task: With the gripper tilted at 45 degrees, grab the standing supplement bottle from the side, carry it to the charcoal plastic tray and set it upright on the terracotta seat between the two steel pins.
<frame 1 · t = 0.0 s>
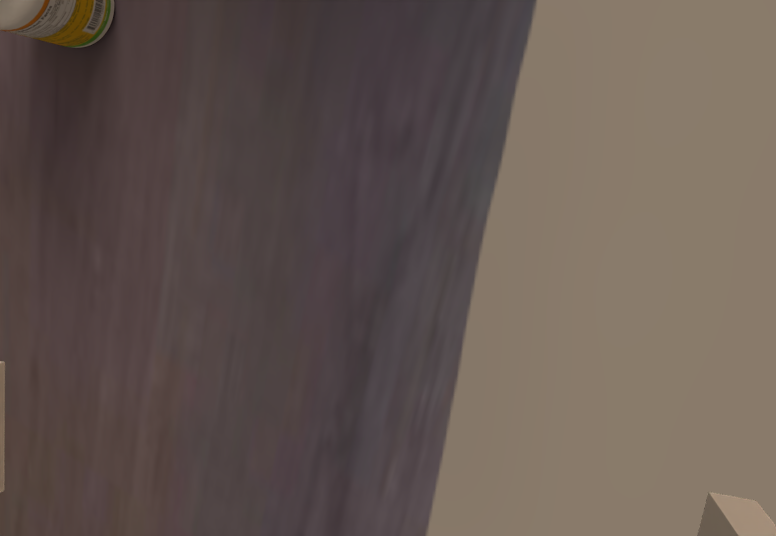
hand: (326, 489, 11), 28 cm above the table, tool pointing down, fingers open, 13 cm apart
supplement bottle: (79, 5, 39), on the table
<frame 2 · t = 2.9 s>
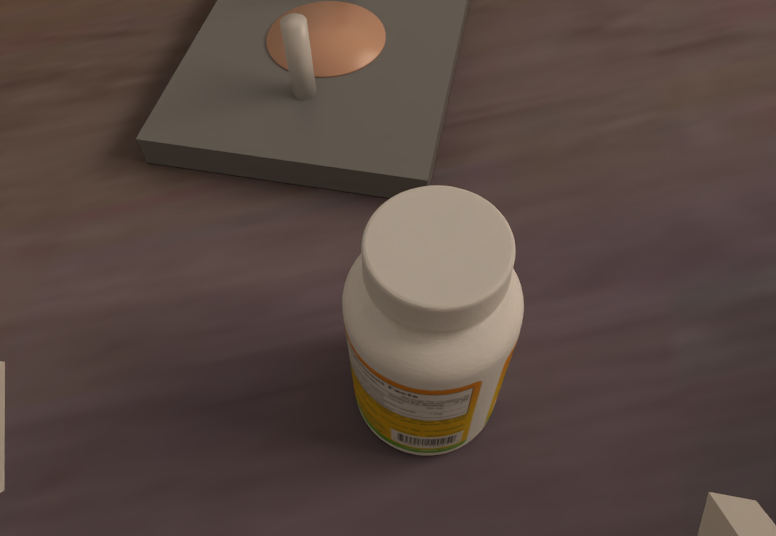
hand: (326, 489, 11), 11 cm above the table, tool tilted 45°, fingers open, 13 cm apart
pin tray: (329, 62, 35), on the table
supplement bottle: (424, 391, 24), on the table
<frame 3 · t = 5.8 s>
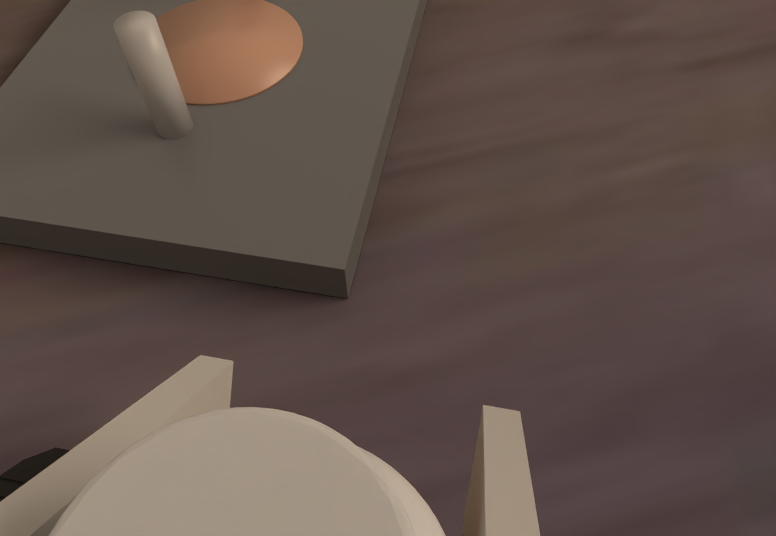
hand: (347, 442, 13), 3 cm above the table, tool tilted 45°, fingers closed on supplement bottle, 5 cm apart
pin tray: (227, 81, 25), on the table
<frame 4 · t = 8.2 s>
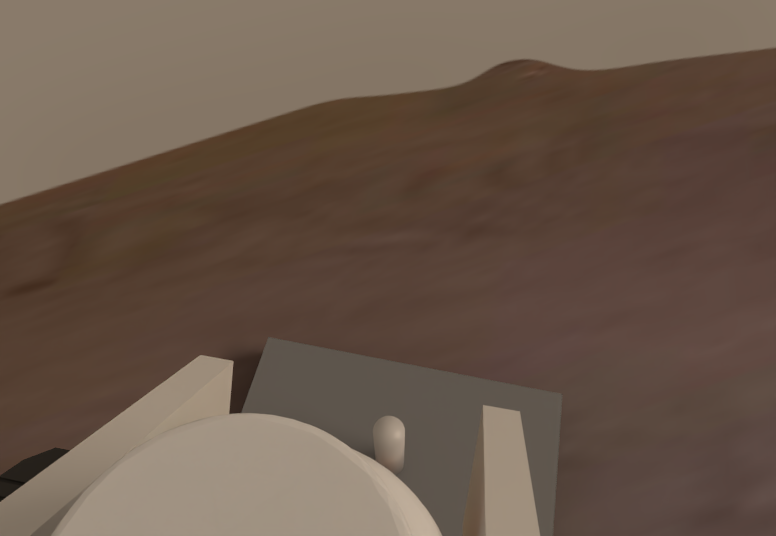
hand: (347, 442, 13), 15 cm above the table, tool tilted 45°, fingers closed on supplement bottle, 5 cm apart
when the fingers open (6 cm above the table, at t = 10.8 s): supplement bottle drops 1 cm, resting on pin tray.
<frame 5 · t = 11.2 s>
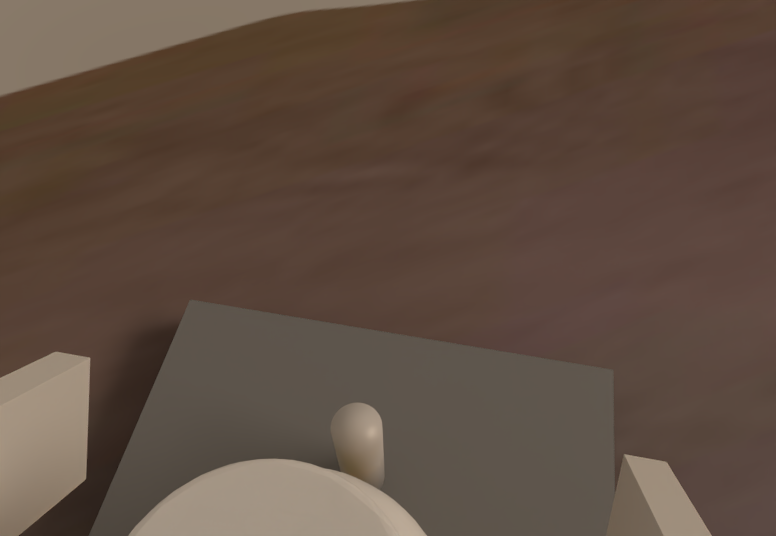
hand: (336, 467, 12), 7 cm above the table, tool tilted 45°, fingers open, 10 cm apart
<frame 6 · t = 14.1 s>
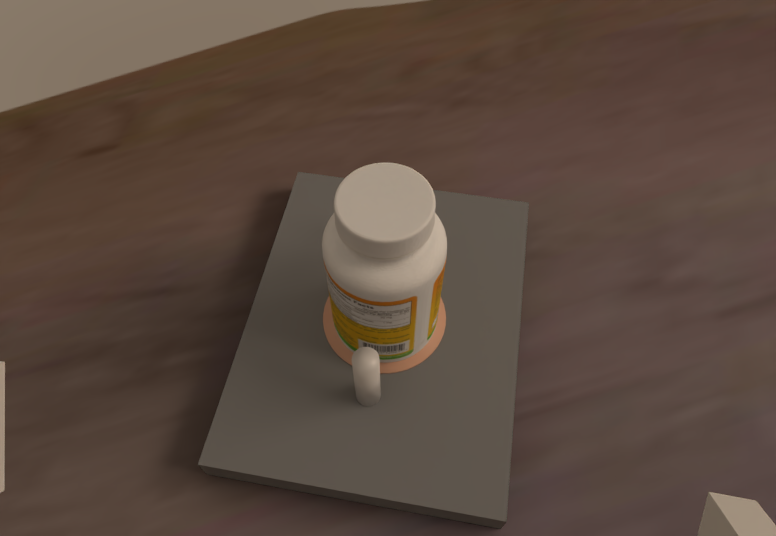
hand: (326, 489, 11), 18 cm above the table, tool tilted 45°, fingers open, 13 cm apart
pin tray: (384, 331, 34), on the table
supplement bottle: (385, 319, 32), point 2 cm above the table, touching pin tray
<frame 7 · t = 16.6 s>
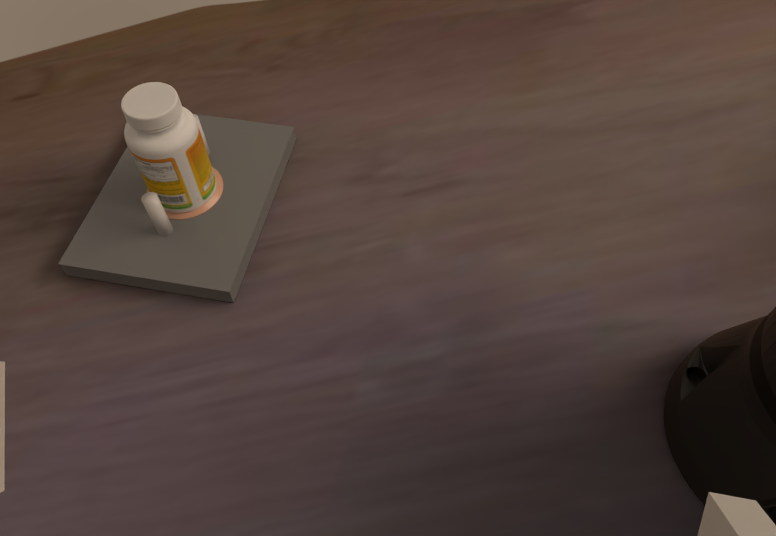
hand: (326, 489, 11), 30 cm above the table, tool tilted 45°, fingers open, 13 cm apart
pin tray: (190, 202, 54), on the table
supplement bottle: (185, 191, 53), point 2 cm above the table, touching pin tray
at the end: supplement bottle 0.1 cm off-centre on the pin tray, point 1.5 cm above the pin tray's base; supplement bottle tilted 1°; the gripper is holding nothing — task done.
